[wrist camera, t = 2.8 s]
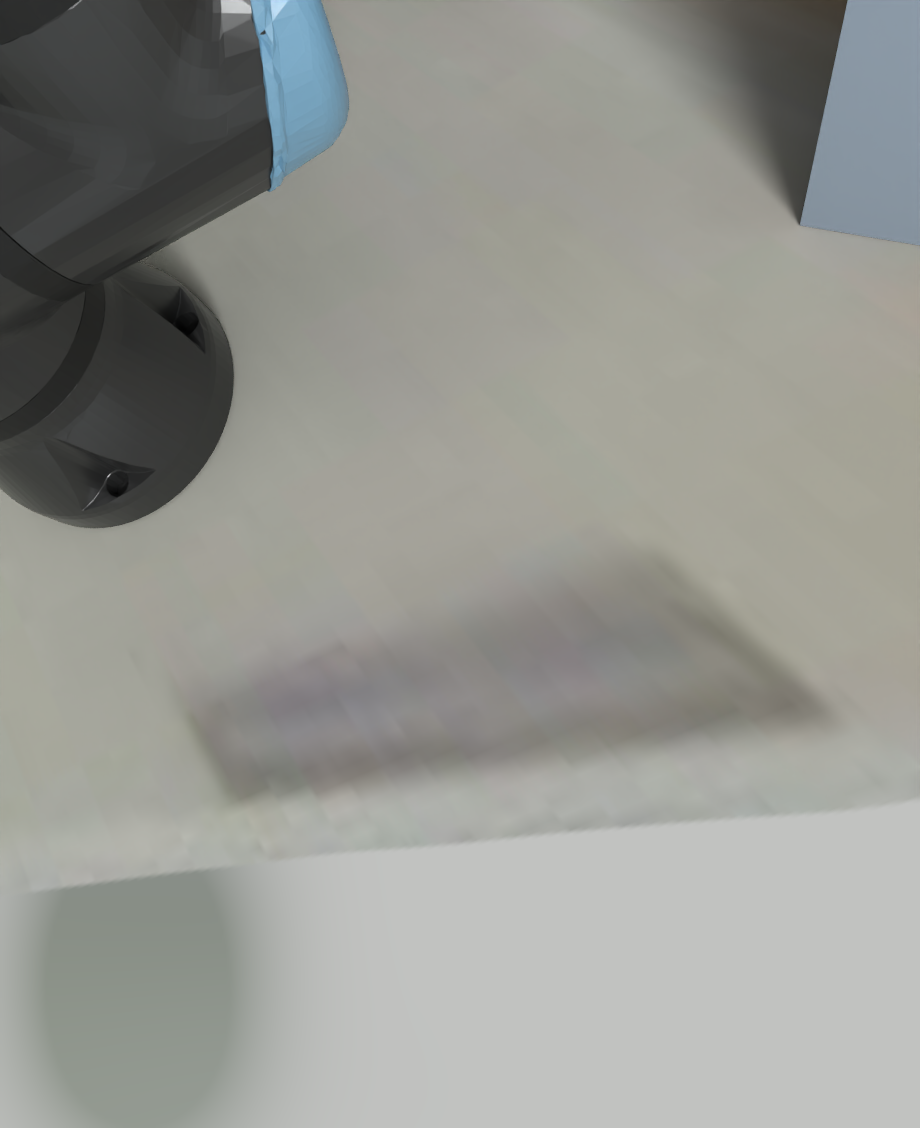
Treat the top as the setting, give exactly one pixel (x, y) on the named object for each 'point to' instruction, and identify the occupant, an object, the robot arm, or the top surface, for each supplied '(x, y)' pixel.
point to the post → (871, 127)
